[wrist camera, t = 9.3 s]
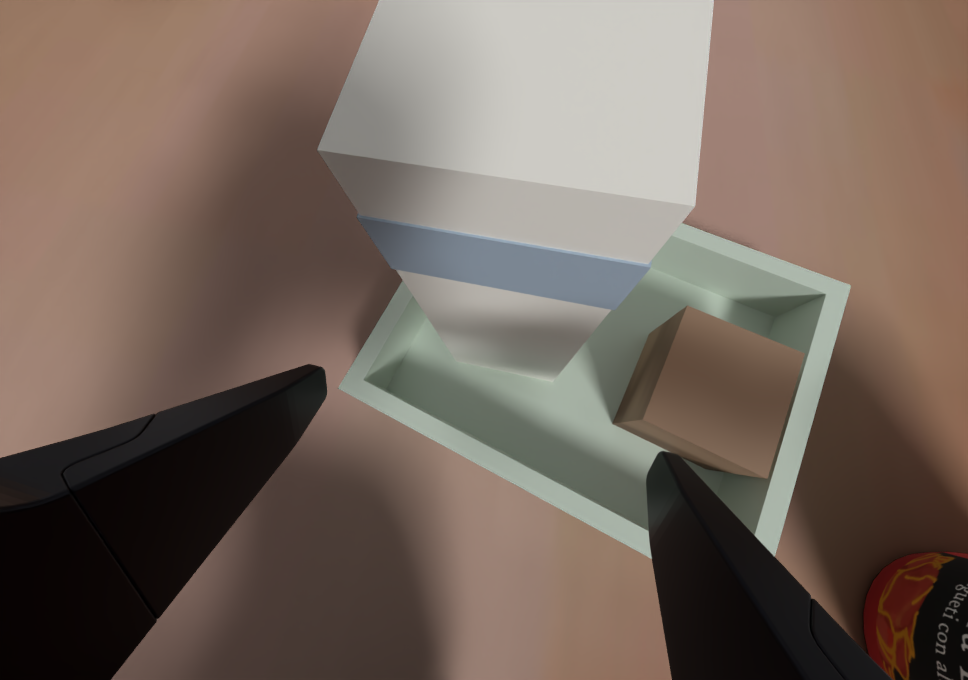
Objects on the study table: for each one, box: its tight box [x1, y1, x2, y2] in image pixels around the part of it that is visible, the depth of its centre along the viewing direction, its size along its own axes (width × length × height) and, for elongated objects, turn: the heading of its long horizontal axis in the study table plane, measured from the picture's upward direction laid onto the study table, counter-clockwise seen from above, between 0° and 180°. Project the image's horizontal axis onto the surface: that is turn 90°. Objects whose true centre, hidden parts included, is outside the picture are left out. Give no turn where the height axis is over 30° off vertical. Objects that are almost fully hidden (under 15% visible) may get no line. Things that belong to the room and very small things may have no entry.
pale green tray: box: [338, 223, 851, 559], centre depth 17 cm, size 14×18×4 cm
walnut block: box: [612, 306, 805, 479], centre depth 15 cm, size 5×4×4 cm
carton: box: [317, 0, 714, 382], centre depth 12 cm, size 5×5×14 cm
